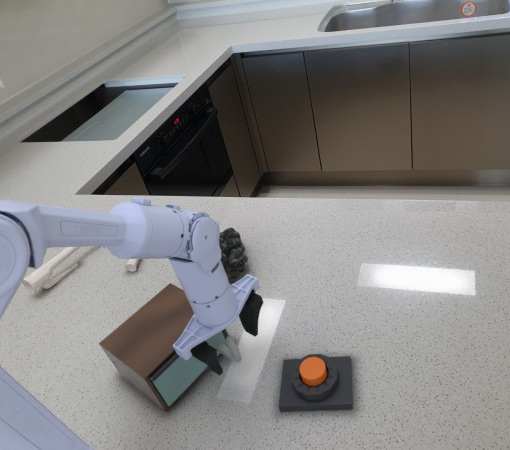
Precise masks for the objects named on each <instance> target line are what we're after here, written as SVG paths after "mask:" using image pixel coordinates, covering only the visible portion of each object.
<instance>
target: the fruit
mask: <svg viewBox="0 0 510 450" xmlns="http://www.w3.org/2000/svg"><path fill="white" fill-rule="evenodd" d="M219 246H220V249H221V252H222V253H221V262H222V265H223V267H224V270H225V272H226V275H227V278H228V280H229V282H236V281H238V278H239V274H238V273H243V272H244V271H245V269H246V268H245V267H246V266H245V264H246V263H247V262H248V260H249V258H248V255H247V254H245V251H246V247H245V245H244V243H243V241H242V239H241V234H240V232H238V231H236V229H235V228H233V227H227V228H225V229H224V230H223V231H220V237H219Z"/></svg>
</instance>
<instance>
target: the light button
mask: <svg viewBox="0 0 510 450" xmlns="http://www.w3.org/2000/svg"><path fill="white" fill-rule="evenodd" d="M300 374H301V377H302V380H303V382H304V383H305V384H306V385H308V386H318V385H320V384H322V383H323V382H324V381H325V379H326V377H327V371H326V366H325V363H324V362H323V360H321V359H320V358H318V357H310V358H307V359H305V360H304V361H303V362H302V363H301V365H300Z"/></svg>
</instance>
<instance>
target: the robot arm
mask: <svg viewBox="0 0 510 450" xmlns="http://www.w3.org/2000/svg"><path fill="white" fill-rule="evenodd" d="M220 232H221V229H220V223H219V220H214V219H213V218H212V217H211V216H210V214H208V213H207V212H204V211H197V210H191V209H183V208H181V205H180V204H177V203H176V204H175V203H166V204H165V205H163V206H162V205H154V204H152V200H151V198H145V197H137V196H132V197H131V201H123V202H120V203H117V204H115V205H114V206H113V207H111V209H110V210H109V211H108V212H102V211H95V210H89V209H88V210H87V209H80V208H72V207H66V206H60V205H59V206H58V205H51V204H43V203H37V202H36V203H35V202H30V201H22V200H13V199H12V200H11V199H0V320H2V318H3V316H4V314H5V313H6V311H7V309H8V307H9V305H10V304H11V302H12V301H13V299H14V297H15V295H16V293H17V291H18V290H19V288H20V287H21V284H22V281H23V278H25V276H26V274H27V272H28V268H29V269H34V270H36V269H38V268H39V267H40V266H42V265H43V262H44V260H45V256H46V254H47V250H48V249H50V248H67V247H80V248H87V247H105V248H106V249H107V250H108V252H109V253H110V254H111V255H113V256H114V257H116V258H118V259H120V260H129V259H139V260H143V259H144V260H146V259H147V260H148V259H149V260H153V259H154V260H156V259H164V260H165V259H168V261H169V263H170V265H171V267H172V269H173V270H172V271H173V272H174V274H175V275H176V278H177V280H178V282H179V284H180V286H181V289H182V290H184V293H185V295H186V297H187V299H188V301H189V303H190V305H191V307H192V309H193V311H194V315H193V316H192V318H191V320H190V321H189V323H188V325H187V326H186V328H185V330H184V331H183V333H182V335H181V336H180V338H179V339H178V340H177V341H176V342H175V343H174V344H173V347H174V349H175V351H176V353H177V354H178V355H179V356H180V357H182V358H183V359H185V360H188V359H189V358H190V357H191V356H193V357H195V358H196V359H198V360H199V361H201V362H203V363H205V364H206V365H207V366H208V369H210V371H212V372H213V373H215V374H217V375H218V376H221V375H222V374H223V372H224V369H223V367H222V365H221V363H220V361H219V357H218V358H217V349H215V348H213V347H212V346H210V345H209V344H208V342H206V341H205V340H207V339H208V338H210V337H212V336H213V335H215V334H217V333H218V332H220V331H222V330H224V329H225V328H226V329H227V328H229V327H231V325H233V324H234V323H235V322H236V321H237V319H238V318H239V320H240V323H241V326H242V328H243V329H244V331H245V332H246V333H247V334H249V335H251V336H252V337H255V338H256V337H257V336H258V335H259V319H260V313H261V309H262V307H263V304H264V299H263V297H262V296H261V295H260V294H258V293H256V292H258V290H259V289H260V288H261V286H260V282H259V280H258V278H257V277H255V276H254V275H251V274H250V273H249V274H248V273H246V275H244V277H242V278H240V279H239V280H236V281H235V282H234V283H232V284H231V283H230V281H229V280H228V278H227V275H226V272H225V270H224V267H223V265H222V262H221V253H222V252H221V249H220V246H219V237H220ZM0 450H96V449H95V448H93V447H92V446H90V445H89V444H88V443H87V442H85V441H84V440H83V439H82V438H81V437H80V436H79V435H78V434H77V433H76V432H74V431H73V430H72V429H71V428H70V427H69V426H68V425H66V423H64V422H63V421H62V420H61V419H60V418H59V417H58V416H56V415H55V414H54V413H53V412H52V411H51V410H50V409H49V408H48V407H47V406H45V405H44V404H43V402H41V401H40V400H38V399H37V397H35V396H34V395H33V394H32V393H31V392H30V391H29V390H28V389H27V388H25V386H23V385H22V383H20V381H19V382H18V381H17V379H16V378H15V377H13V376H12V375H11V374H10V373H9V372H8V371H7V370H5V369H4V367H2V366H1V365H0Z"/></svg>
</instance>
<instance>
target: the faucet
mask: <svg viewBox="0 0 510 450" xmlns="http://www.w3.org/2000/svg"><path fill="white" fill-rule="evenodd" d="M80 248H81V247H64V249H63V250H62V251H60V252H59V253H58V254H56V255H55V256H54V257H52V258H51V259H49V260H48V261H47V262H45V263H44V264H42V265H41V266H40V267H39V268H37V269H34V270H33V272H31V273H30V274H29V275H28V276H26V277H24V278H23V281H22V283H21V284H22V285H23V286H24V287H25V289H26V290H28V291H29V292H30V293H33V294H35V293H36V292H37V290H38V288H39V287H41V286H42V287H43V288H44V289H46V290H48V289H50V288H52V287H53V286H55V284H57V283H59V282H60V281H61V280H62V279H63V278H65V277H66V276H67V275H69V274H70V273H72V271H73V270H75V269H76V268H77V267H78V266H79V262H77V263H76V264H74V265H73V266H71V267H69V269H67V270H66V271H64V272H63V273H60V274H57V275H55V276H53V277H52V274H53V271H54V270H55V269H56V268H57V267H58V266H60V265H61V264H62V263H63V262H65V261H66V260H67V259H68V258H69V257H71V255H73V254H74V253H75V252H77V251H78V250H79V249H80ZM139 261H140V259H128V261H127V263H126V264H125V266H124V268H125V270H126V271H128V272H131V273H133V272H134V273H135V272H137V266H138V263H139Z"/></svg>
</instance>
